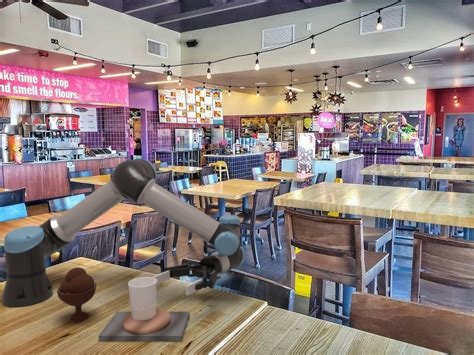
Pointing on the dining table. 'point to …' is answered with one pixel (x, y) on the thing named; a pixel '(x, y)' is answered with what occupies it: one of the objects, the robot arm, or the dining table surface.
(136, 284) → the white cup
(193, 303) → the dining table surface
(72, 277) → the ice cream bowl
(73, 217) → the robot arm
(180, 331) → the serving stand
